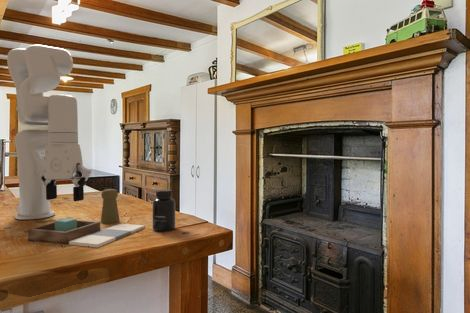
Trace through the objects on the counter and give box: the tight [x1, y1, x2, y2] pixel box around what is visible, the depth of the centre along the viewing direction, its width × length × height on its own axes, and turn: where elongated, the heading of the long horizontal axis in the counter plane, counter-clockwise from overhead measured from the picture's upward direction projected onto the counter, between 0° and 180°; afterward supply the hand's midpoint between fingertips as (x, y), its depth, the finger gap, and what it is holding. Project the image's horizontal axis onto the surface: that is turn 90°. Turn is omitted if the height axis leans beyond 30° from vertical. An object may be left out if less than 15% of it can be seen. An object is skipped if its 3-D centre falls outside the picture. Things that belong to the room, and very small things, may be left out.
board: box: [68, 223, 146, 249], centre depth 97 cm, size 9×21×1 cm, turn 161°
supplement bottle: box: [152, 188, 176, 233], centre depth 104 cm, size 7×7×12 cm
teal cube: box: [54, 217, 78, 232], centre depth 97 cm, size 4×4×4 cm
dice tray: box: [27, 219, 101, 245], centre depth 97 cm, size 13×13×3 cm
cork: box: [100, 188, 120, 225], centre depth 115 cm, size 6×6×11 cm
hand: (65, 199), depth 97 cm, fingers open, 9 cm apart
